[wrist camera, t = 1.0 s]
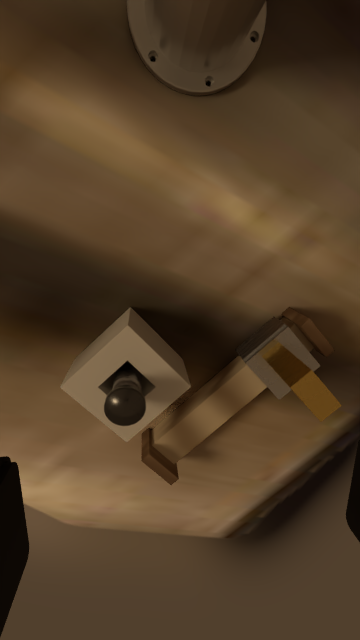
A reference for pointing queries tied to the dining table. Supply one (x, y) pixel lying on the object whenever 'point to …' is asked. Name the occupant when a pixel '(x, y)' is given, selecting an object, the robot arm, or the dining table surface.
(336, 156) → the dining table surface
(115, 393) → the plunger
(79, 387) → the housing
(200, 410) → the rail
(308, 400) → the carriage
